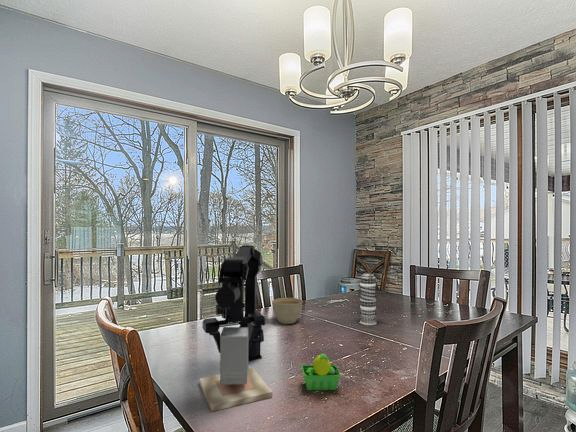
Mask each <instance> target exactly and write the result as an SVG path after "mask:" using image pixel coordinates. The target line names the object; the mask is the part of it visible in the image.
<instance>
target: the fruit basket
mask: <svg viewBox="0 0 576 432" xmlns="http://www.w3.org/2000/svg"><path fill="white" fill-rule="evenodd" d="M301 370H302V375H303V378H304V382H305V387H306V391H328V390H329V391H335V390H337V387H338V383H339V380H340V377H341V373H340V371H339V369H338V366H337V365H336V364H331V362H330V360H329V358H328V356H327V355H326V354H325V353H320V354H319V355H317V356H316V358H314V360H313V361H312V365H311V364H306V365H305V364H304V365H302V366H301Z"/></svg>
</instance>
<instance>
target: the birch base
mask: <svg viewBox="0 0 576 432" xmlns="http://www.w3.org/2000/svg"><path fill="white" fill-rule="evenodd" d="M199 385H200V388H201V390H202V392H203V395H204V398H205V399H206V402H207V405H208V407H209V409H210V411H211V412H215V411H219V410H220V411H221V410H223V409H224V410H225V409H228V408H229V409H230V408H232V407H236V406H241V405H245V404H249V403H252V402H257V401H261V400H262V401H263V400H265V399H266V400H267V399H269V398H272V397H273V390H272V389H271V388H270V387H269V386H268V385H267V383H266V382H265V381H264V380H263V379H262V377H261V376H260V375H259V374H258V373H257V371H256V370H255V369H254V368H253V367H251V368H248V377H247V384H222V385H221V384H220V374H216V375H210V376H205V377H200V378H199Z"/></svg>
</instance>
